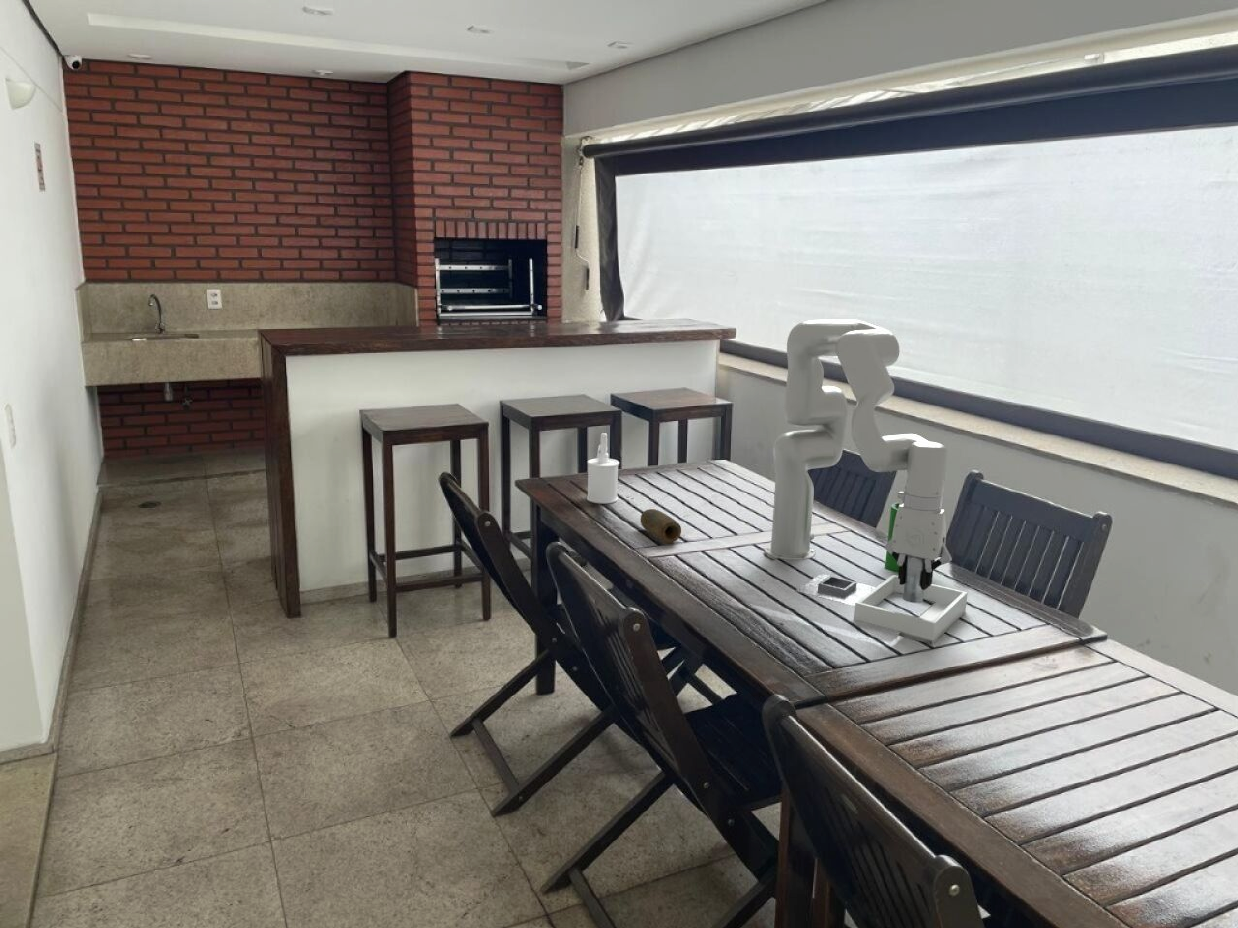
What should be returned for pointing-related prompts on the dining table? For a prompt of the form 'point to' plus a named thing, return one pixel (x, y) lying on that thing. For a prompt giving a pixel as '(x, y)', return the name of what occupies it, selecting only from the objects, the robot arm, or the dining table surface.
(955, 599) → the bin
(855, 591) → the socket plate
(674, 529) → the stone weight
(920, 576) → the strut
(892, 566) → the motor
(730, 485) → the dining table surface
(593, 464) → the white spout bottle
